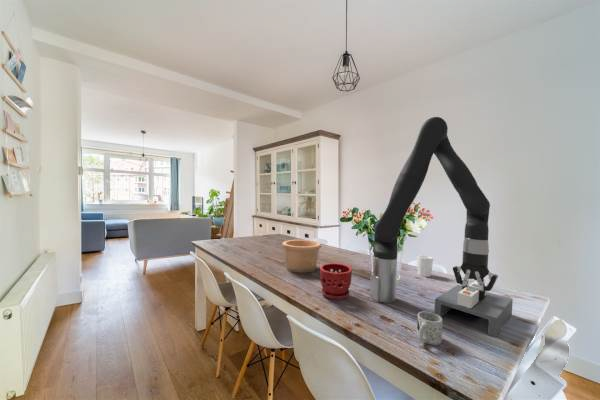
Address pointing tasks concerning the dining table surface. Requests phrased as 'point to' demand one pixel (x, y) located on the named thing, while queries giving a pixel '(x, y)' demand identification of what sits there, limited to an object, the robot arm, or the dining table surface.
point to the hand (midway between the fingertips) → (473, 298)
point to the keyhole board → (478, 308)
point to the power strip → (469, 295)
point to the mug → (429, 328)
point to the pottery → (301, 255)
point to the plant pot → (335, 280)
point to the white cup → (424, 265)
